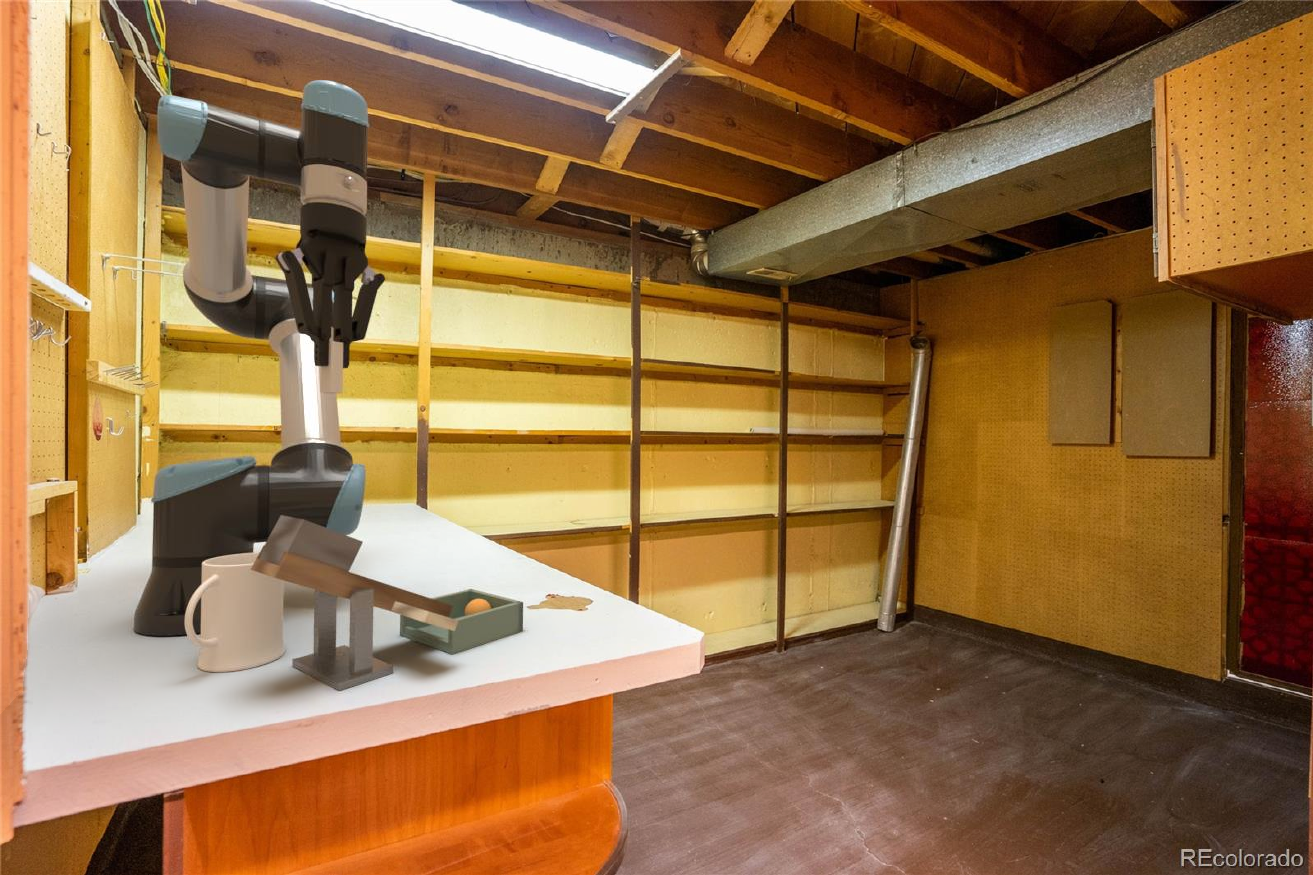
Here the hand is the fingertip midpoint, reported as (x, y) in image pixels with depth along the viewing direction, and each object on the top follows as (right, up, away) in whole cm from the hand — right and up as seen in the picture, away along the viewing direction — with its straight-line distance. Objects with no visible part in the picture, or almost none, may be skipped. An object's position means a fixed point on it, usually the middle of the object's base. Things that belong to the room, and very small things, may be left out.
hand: (331, 392), depth 76 cm
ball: (+17, -30, +7) cm, 35 cm away
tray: (+15, -33, +5) cm, 36 cm away
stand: (+6, -32, -8) cm, 34 cm away
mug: (-8, -33, -7) cm, 34 cm away
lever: (+10, -25, -9) cm, 28 cm away
